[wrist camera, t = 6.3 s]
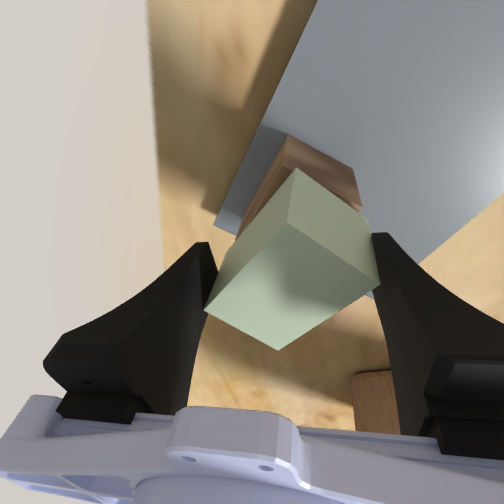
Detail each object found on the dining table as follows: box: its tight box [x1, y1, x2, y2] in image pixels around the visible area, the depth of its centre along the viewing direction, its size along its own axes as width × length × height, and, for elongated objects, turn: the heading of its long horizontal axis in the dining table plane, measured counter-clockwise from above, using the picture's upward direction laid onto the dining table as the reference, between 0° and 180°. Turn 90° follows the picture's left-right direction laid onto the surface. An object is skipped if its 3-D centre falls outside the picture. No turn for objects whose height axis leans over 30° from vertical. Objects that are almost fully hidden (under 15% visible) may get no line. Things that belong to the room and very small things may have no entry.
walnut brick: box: [235, 134, 362, 241], centre depth 16 cm, size 4×6×4 cm, turn 155°
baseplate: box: [213, 0, 504, 299], centre depth 17 cm, size 13×16×1 cm
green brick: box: [204, 168, 380, 350], centre depth 13 cm, size 4×6×4 cm, turn 147°
